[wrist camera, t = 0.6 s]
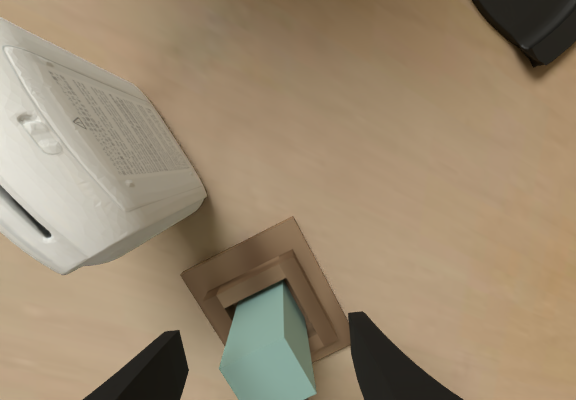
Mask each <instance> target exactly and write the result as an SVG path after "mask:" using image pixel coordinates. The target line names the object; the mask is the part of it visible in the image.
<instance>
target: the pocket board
mask: <svg viewBox="0 0 576 400" xmlns="http://www.w3.org/2000/svg"><path fill="white" fill-rule="evenodd" d="M181 277H182V279H183V280H184V282H185V283H186V285H187V287H188V288H189V290H190V291H191V293H192V295H193V296H194V298H195V299H196V301H197V303H198V304H199V306H200V307H201V309H202V311H203V312H204V314H205V315H206V317H207V319H208V320H209V322H210V323H211V325H212V326H213V328H214V330H215V331H216V333H217V334H218V336H219V338H220V339H221V341H222V342H223V344H224V346H226V342H227V339H228V335H229V332H230V328H231V325H232V321H233V318H234V314H235V311H236V307H237V304H238V301H240V300H242V299H244V298H246V297H248V296H250V295H252V294H254V293H256V292H258V291H260V290H262V289H264V288H266V287H268V286H270V285H272V284H274V283H276V282H279V281H281V280H284V282H285V283H286V285H287V287H288V289H289V291H290V292H291V294H292V296H293V298H294V300H295V301H296V303H297V305H298V307H299V309H300V310H301V312H302V314H303V316H304V318H305V322H306V329H307V335H308V341H309V348H310V354H311V361H312V363H313V362H315V361H317V360H319V359H321V358H323V357H325V356H328V355H330V354H332V353H334V352H336V351H338V350H340V349H342V348H344V347H346V346H348V345H351V344H350V331H349V322H348V320H347V319H346V317H345V315H344V313H343V311H342V309H341V307H340V305H339V303H338V301H337V299H336V297H335V296H334V294H333V292H332V290H331V288H330V286H329V284H328V282H327V280H326V278H325V276H324V275H323V273H322V271H321V269H320V267H319V265H318V263H317V261H316V259H315V257H314V255H313V253H312V252H311V250H310V248H309V246H308V244H307V242H306V240H305V238H304V236H303V234H302V232H301V231H300V229H299V227H298V225H297V223H296V221H295V219H294V217H293V216H292V217H290V218H288V219H286V220H284V221H282V222H280V223H278V224H276V225H275V226H273V227H271V228H269V229H267V230H265V231H263V232H261V233H259V234H257V235H255V236H253V237H251V238H249V239H247V240H245V241H243V242H241V243H239V244H237V245H235V246H233V247H231V248H229V249H227V250H225V251H223V252H221V253H219V254H217V255H215V256H213V257H211V258H209V259H207V260H205V261H204V262H202V263H200V264H198V265H196V266H194V267H192V268H190V269H188V270H186V271H184V272H183V273H182V274H181Z"/></svg>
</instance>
